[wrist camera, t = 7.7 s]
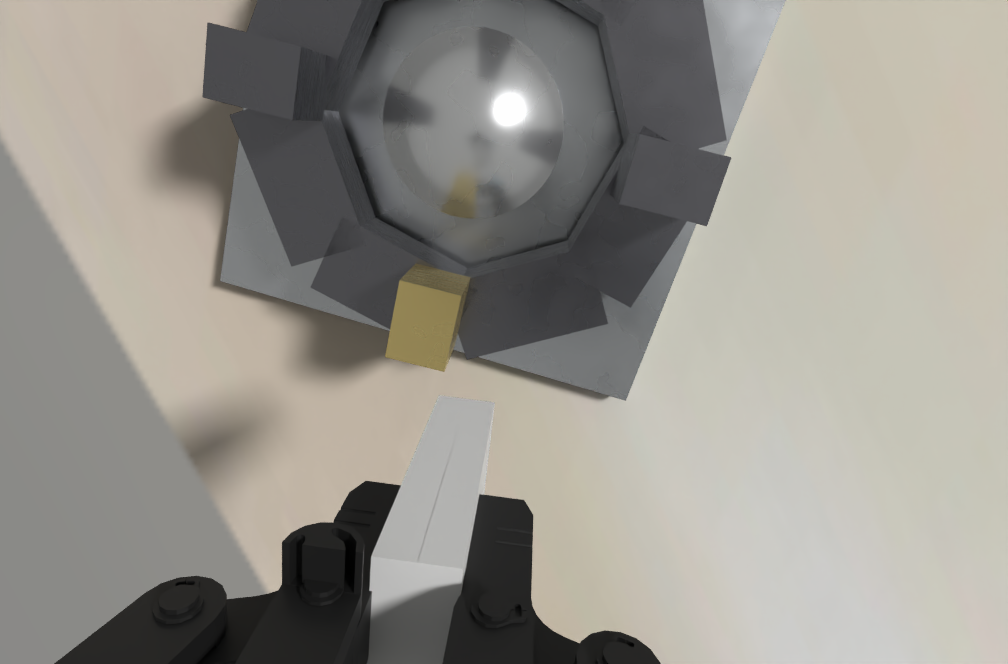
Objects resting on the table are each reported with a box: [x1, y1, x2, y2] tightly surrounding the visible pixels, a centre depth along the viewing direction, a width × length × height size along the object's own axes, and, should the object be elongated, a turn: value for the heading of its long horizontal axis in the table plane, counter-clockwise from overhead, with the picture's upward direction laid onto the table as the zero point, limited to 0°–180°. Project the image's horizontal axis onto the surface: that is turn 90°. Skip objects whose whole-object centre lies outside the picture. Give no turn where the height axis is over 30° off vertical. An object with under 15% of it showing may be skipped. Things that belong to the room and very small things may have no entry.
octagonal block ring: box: [203, 0, 731, 372], centre depth 23 cm, size 18×18×6 cm
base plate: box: [220, 0, 786, 401], centre depth 25 cm, size 21×21×4 cm
